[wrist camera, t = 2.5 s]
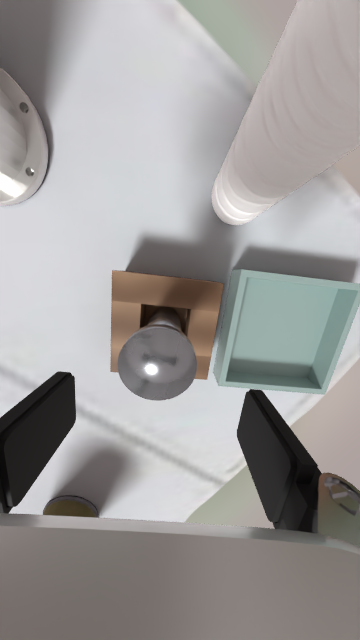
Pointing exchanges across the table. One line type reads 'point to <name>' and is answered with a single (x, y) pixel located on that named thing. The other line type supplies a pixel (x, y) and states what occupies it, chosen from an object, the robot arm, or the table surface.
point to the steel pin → (158, 358)
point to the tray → (283, 331)
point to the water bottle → (296, 112)
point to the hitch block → (165, 291)
